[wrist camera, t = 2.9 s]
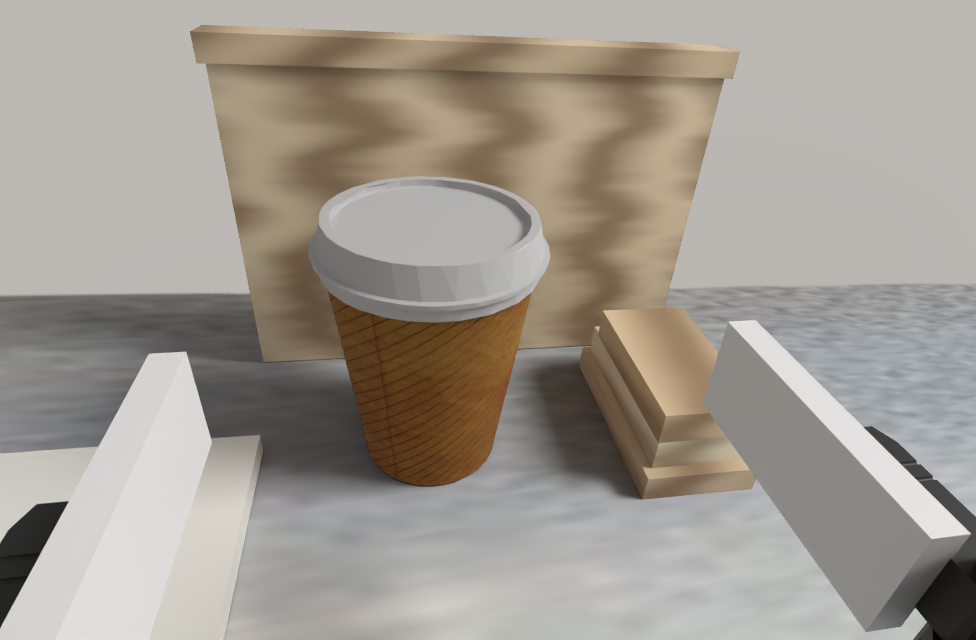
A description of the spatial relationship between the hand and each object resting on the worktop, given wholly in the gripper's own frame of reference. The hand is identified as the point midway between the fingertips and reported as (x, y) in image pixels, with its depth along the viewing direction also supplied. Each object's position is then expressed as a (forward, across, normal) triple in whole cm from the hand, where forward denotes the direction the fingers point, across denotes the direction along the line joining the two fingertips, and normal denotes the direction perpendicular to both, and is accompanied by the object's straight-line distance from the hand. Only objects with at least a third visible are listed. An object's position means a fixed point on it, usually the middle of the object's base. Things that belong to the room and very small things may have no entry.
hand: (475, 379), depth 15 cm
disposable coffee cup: (+10, 0, -12) cm, 16 cm away
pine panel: (+18, +3, -12) cm, 22 cm away
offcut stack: (+10, +12, -12) cm, 20 cm away
